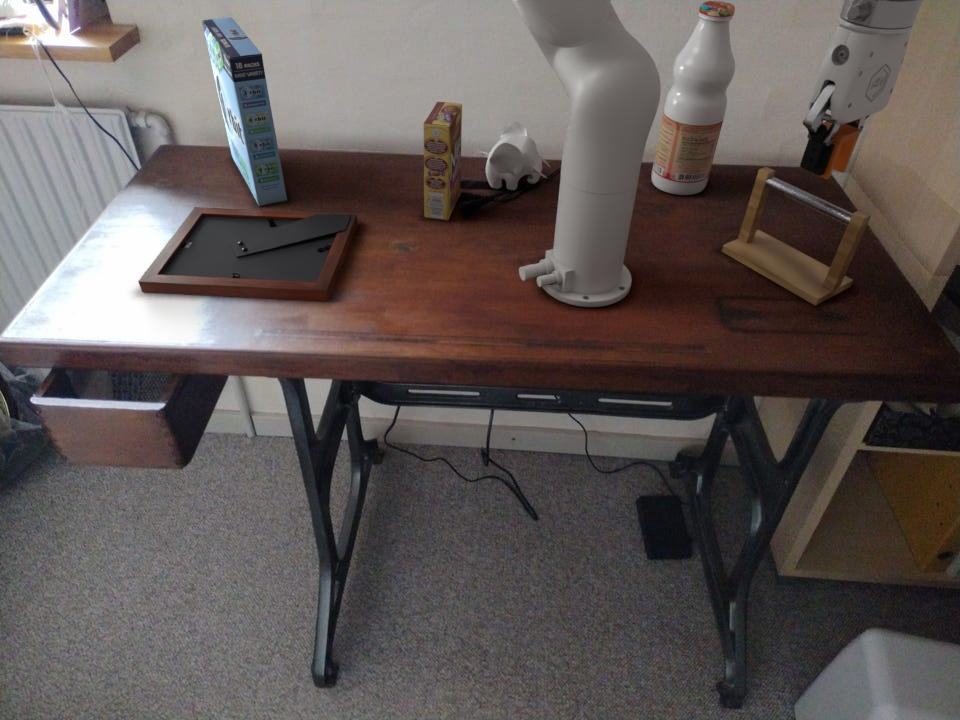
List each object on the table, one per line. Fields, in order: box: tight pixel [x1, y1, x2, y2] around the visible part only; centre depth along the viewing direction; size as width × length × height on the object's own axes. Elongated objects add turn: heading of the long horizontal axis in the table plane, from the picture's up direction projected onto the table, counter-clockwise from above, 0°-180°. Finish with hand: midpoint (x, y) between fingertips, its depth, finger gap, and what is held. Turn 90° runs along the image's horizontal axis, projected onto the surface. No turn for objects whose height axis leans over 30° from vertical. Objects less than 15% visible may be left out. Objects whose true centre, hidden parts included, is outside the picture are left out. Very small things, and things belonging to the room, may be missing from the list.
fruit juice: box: [650, 0, 736, 196], centre depth 108 cm, size 9×9×28 cm
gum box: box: [201, 16, 288, 207], centre depth 108 cm, size 20×5×23 cm, turn 27°
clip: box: [799, 121, 862, 180], centre depth 86 cm, size 4×4×6 cm
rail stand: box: [721, 166, 872, 306], centre depth 94 cm, size 8×16×12 cm, turn 34°
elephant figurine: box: [479, 121, 552, 191], centre depth 113 cm, size 10×12×9 cm
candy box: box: [423, 101, 463, 221], centre depth 105 cm, size 9×4×15 cm, turn 169°
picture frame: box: [138, 206, 359, 302], centre depth 98 cm, size 20×2×25 cm
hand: (823, 165), depth 87 cm, fingers closed on clip, 4 cm apart
